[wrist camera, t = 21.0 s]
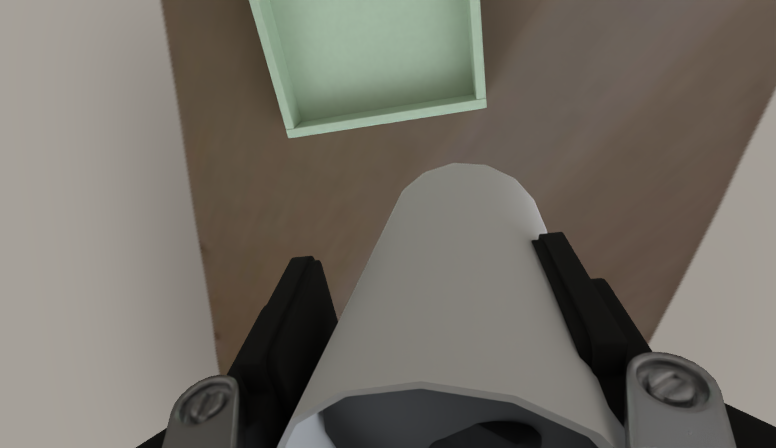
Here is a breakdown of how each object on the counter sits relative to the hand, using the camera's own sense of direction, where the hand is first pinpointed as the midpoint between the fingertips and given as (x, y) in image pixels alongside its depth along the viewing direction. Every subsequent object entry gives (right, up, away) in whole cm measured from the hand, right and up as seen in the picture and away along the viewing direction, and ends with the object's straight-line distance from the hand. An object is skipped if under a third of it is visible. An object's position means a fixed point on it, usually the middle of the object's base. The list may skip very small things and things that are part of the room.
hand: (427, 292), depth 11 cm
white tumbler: (+2, +2, +5) cm, 5 cm away
